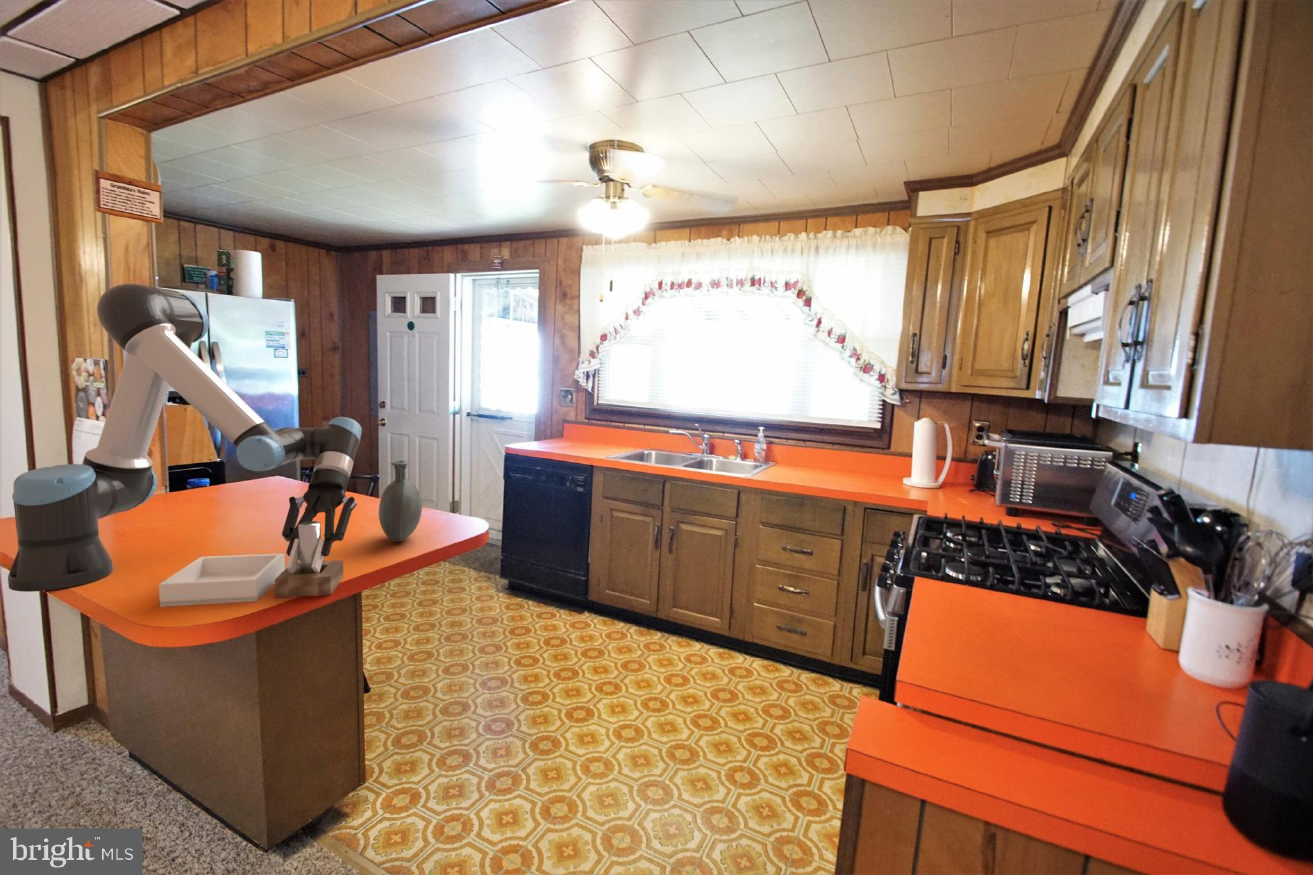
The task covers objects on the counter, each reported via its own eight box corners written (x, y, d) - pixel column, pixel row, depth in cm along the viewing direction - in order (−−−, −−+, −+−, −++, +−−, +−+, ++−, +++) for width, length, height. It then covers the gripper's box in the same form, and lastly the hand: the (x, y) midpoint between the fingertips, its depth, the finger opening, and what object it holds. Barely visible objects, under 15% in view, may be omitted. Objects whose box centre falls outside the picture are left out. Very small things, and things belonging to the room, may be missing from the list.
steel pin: (297, 591, 118) (295, 526, 116) (303, 584, 122) (301, 521, 120) (318, 590, 119) (317, 526, 117) (324, 583, 123) (322, 520, 121)
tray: (160, 606, 108) (158, 584, 107) (201, 576, 123) (200, 556, 122) (256, 601, 112) (255, 579, 112) (285, 572, 127) (284, 553, 127)
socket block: (275, 598, 114) (274, 579, 114) (292, 579, 124) (292, 562, 123) (330, 594, 117) (330, 576, 116) (343, 577, 126) (342, 560, 126)
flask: (362, 548, 146) (361, 465, 143) (396, 530, 163) (395, 455, 160) (406, 551, 146) (405, 467, 143) (435, 532, 162) (435, 457, 160)
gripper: (374, 485, 134) (352, 576, 120) (295, 484, 131) (263, 578, 117) (367, 467, 129) (343, 561, 115) (284, 466, 125) (249, 562, 111)
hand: (302, 569), depth 116 cm, fingers closed on steel pin, 4 cm apart
